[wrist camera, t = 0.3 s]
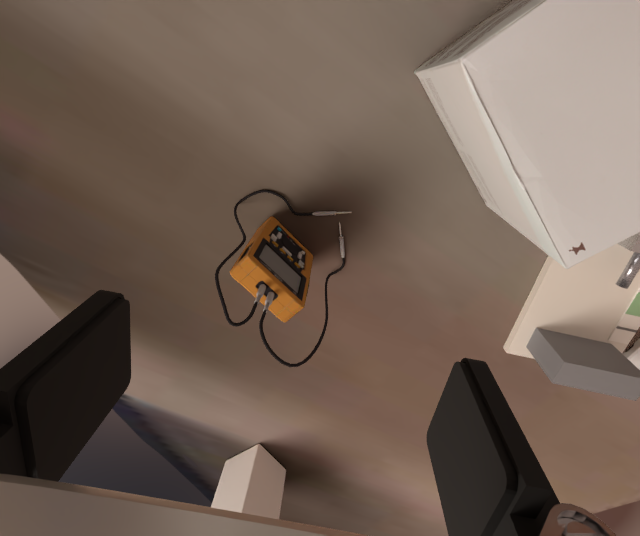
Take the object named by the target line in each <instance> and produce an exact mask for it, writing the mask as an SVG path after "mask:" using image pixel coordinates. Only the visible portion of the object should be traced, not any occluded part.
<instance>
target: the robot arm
mask: <svg viewBox="0 0 640 536" xmlns="http://www.w3.org/2000/svg"><path fill="white" fill-rule="evenodd" d="M130 379H131V346H130V304H129V301H128V300H125V299H124V296H123V295H122V294H121V293H115V292H110V291H105V290H99V291H97V292H96V293H95V294H93V295H92V296H91V297H90V298H88V299H87V300H86V301H85V302H83V303H82V304H81V305H80V306H78V307H77V308H76V309H75V310H73V311H72V312H71V313H70V314H68V315H67V316H66V317H65V318H63V319H62V320H61V321H60V322H59V323H57V324H56V325H55V326H54V327H52V328H51V329H50V330H48V331H47V332H46V333H45V334H43V335H42V336H41V337H40V338H39V339H37V340H36V341H35V342H33V343H32V344H31V345H30V346H28V348H26V349H25V350H23V351H22V352H21V353H20V354H18V355H17V356H16V357H15V358H14V359H12V360H11V361H10V362H8V363H7V364H6V365H5V366H3V367H2V368H1V369H0V536H368V535H363V534H357V533H352V532H346V531H341V530H335V529H330V528H324V527H319V526H313V525H308V524H302V523H296V522H291V521H285V520H280V519H274V518H268V517H263V516H257V515H251V514H246V513H240V512H234V511H228V510H223V509H217V508H211V507H205V506H200V505H194V504H188V503H182V502H177V501H171V500H165V499H158V498H153V497H147V496H141V495H136V494H130V493H123V492H117V491H112V490H106V489H100V488H94V487H89V486H83V485H75V484H69V483H63V482H58V481H59V480H60V478H61V477H62V476H63V474H64V473H65V471H66V470H67V469H68V467H69V466H70V465H71V463H72V462H73V461H74V459H75V458H76V456H77V455H78V454H79V453H80V451H81V450H82V448H83V447H84V446H85V444H86V443H87V442H88V440H89V439H90V438H91V436H92V435H93V434H94V432H95V431H96V430H97V428H98V427H99V425H100V424H101V423H102V421H103V420H104V418H105V417H106V416H107V414H108V413H109V412H110V411H111V409H112V408H113V407H114V405H115V404H116V402H117V401H118V400H119V398H120V397H121V396H122V394H123V393H124V392H125V390H126V389H127V387H128V385H129V383H130ZM427 445H428V450H429V454H430V458H431V462H432V467H433V471H434V475H435V479H436V483H437V488H438V492H439V496H440V500H441V505H442V509H443V513H444V517H445V522H446V526H447V530H448V534H449V536H616V534H615V533H614V532H613V531H612V530H611V529H610V528H609V527H608V526H607V525H606V524H605V523H604V522H603V521H601V520H600V519H599V518H597V517H596V516H595V515H594V514H592V513H590V512H588V511H587V510H585V509H583V508H581V507H578V506H575V505H573V504H566V503H561V504H560V502H559V500H558V498H557V497H556V495H555V493H554V491H553V489H552V487H551V485H550V483H549V481H548V479H547V477H546V475H545V473H544V472H543V470H542V468H541V466H540V464H539V462H538V460H537V458H536V456H535V454H534V453H533V451H532V449H531V447H530V445H529V443H528V441H527V439H526V437H525V435H524V434H523V432H522V430H521V428H520V426H519V424H518V422H517V420H516V418H515V417H514V415H513V413H512V411H511V409H510V407H509V405H508V403H507V401H506V399H505V398H504V396H503V394H502V392H501V390H500V388H499V386H498V384H497V382H496V380H495V379H494V377H493V375H492V373H491V371H490V369H489V367H488V365H487V364H486V362H484V361H479V360H473V359H468V358H463V359H462V360H461V362H456V363H455V364H454V366H453V368H452V371H451V373H450V376H449V378H448V381H447V383H446V386H445V388H444V391H443V393H442V396H441V398H440V401H439V403H438V406H437V408H436V411H435V413H434V416H433V418H432V421H431V423H430V426H429V428H428V431H427Z"/></svg>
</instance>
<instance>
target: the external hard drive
mask: <svg viewBox="0 0 640 536" xmlns="http://www.w3.org/2000/svg"><path fill="white" fill-rule="evenodd" d="M623 355H624V356H625V357H626V358H627V359H628V360H629V361H630V362H631V363H633V364H634V365H635V366H636V367H637V368H638V369H639V370H640V338H639V339H638V340H637V341H636V342H635V343H634V344H633V346H632V347H631V348H630V349H629V350H628V351H626V352H624V353H623Z"/></svg>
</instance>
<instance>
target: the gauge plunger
mask: <svg viewBox="0 0 640 536" xmlns="http://www.w3.org/2000/svg"><path fill="white" fill-rule="evenodd" d="M617 244H619V245H620V246H622V247H624V248H626V249H628V250H630V251H632V252H634V253H633V255H632V257H631V258H630V260H629V262H628V264H627V265H626V267H625V269H624V270H623V272H622V274H621V275H620V277H619V279H618V281H617V282H616V285H617V286H619V287H622V288H625V289H628V288H629V286H630V284H631V283H632V281H633V279H634V278H635V276H636V274H637V273H638V271H639V269H640V232H638V233H637V234H635V235H633V236H631V237H629V238H627V239H625V240H623V241H621V242H619V243H617Z"/></svg>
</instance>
